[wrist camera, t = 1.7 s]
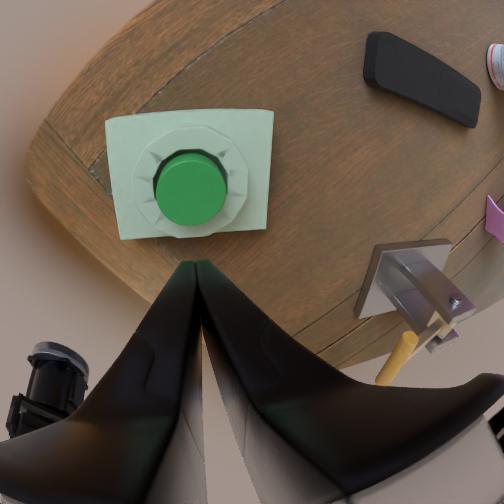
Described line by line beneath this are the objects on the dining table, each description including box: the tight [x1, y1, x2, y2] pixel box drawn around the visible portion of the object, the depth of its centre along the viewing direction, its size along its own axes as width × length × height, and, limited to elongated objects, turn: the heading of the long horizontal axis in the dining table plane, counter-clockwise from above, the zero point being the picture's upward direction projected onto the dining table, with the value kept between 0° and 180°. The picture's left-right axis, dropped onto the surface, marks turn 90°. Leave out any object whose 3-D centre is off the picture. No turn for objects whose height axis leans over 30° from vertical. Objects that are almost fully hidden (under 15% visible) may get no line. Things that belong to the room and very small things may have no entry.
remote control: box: [364, 32, 481, 128], centre depth 17 cm, size 5×2×15 cm
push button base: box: [105, 109, 274, 240], centre depth 16 cm, size 10×8×4 cm
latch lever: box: [375, 310, 457, 386], centre depth 21 cm, size 11×6×2 cm, turn 88°
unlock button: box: [156, 153, 226, 226], centre depth 14 cm, size 4×4×2 cm
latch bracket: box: [354, 239, 476, 354], centre depth 25 cm, size 12×9×10 cm
